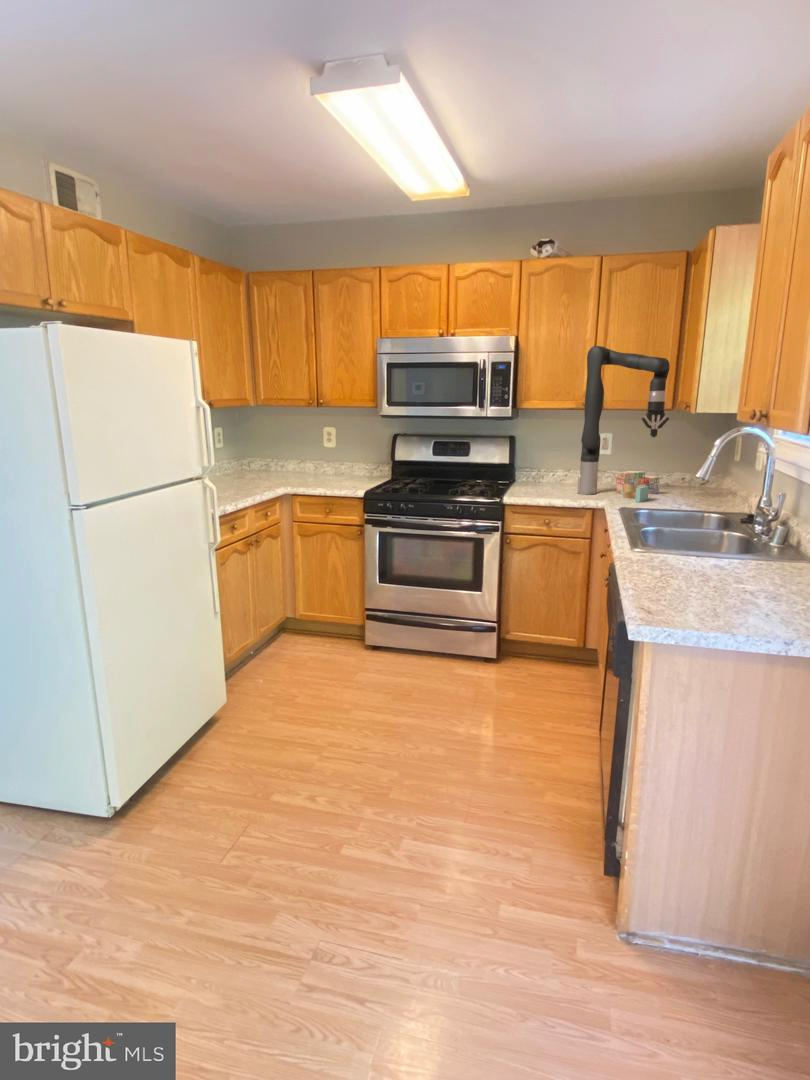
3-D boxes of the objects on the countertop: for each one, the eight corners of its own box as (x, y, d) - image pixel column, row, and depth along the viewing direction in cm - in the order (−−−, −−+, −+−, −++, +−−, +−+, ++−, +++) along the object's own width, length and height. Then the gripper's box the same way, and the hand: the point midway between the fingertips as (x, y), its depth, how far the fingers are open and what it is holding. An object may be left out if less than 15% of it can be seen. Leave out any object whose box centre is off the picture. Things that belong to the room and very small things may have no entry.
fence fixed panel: (622, 499, 301) (624, 482, 299) (623, 498, 303) (625, 482, 301) (646, 501, 295) (648, 484, 293) (648, 500, 296) (649, 483, 294)
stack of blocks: (651, 492, 322) (653, 470, 319) (658, 494, 316) (660, 471, 313) (615, 494, 317) (617, 471, 314) (622, 496, 311) (624, 472, 308)
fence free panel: (643, 499, 296) (644, 485, 294) (647, 499, 294) (648, 486, 293) (635, 502, 288) (636, 488, 287) (639, 502, 287) (640, 488, 286)
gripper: (669, 400, 290) (666, 436, 294) (640, 400, 293) (637, 436, 297) (672, 400, 283) (669, 437, 287) (643, 400, 286) (640, 437, 290)
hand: (653, 437), depth 292 cm, fingers closed
